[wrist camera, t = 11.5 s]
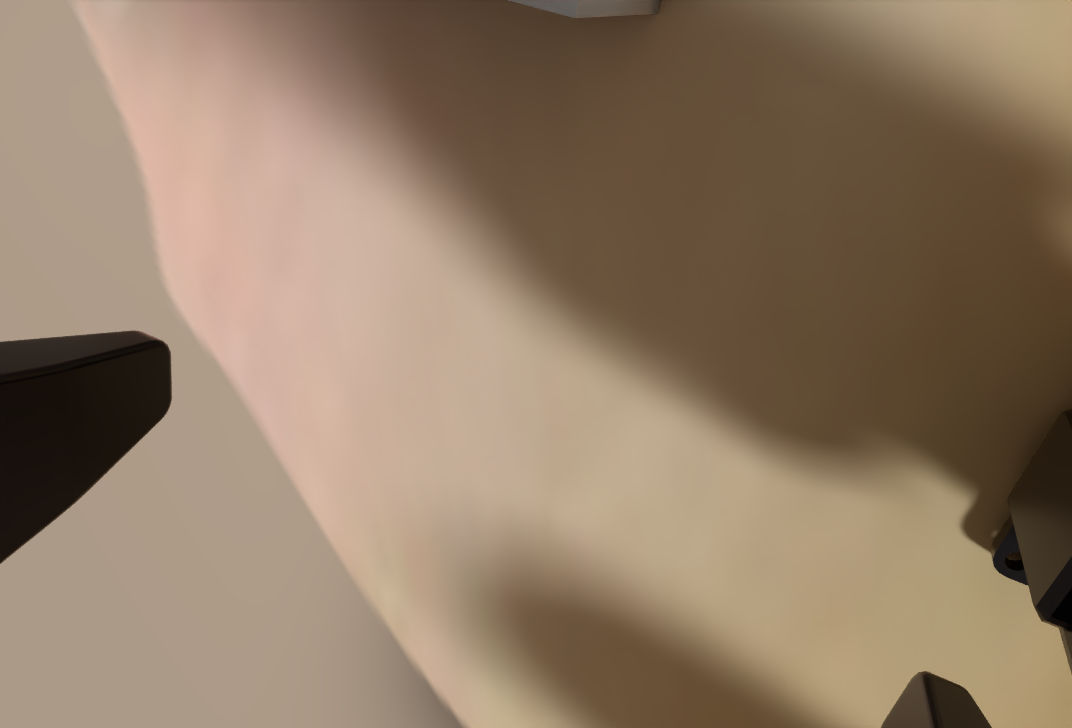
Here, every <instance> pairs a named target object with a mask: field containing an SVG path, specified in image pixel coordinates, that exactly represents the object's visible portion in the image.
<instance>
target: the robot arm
mask: <svg viewBox="0 0 1072 728" xmlns="http://www.w3.org/2000/svg"><path fill="white" fill-rule="evenodd" d="M171 385H172V381H171V352H170V350H169V347H168V345H167V344H166V343H165V342H163V341H162V340H160V339H157V338H155V337H153V336H150V335H148V334H146V333H143V332H140V331H123V332H112V333H111V332H110V333H99V334H87V335H75V336H64V337H52V338H40V339H29V340H17V341H5V342H0V564H1V563H2V562H3V561H4V560H6V559H7V558H8V557H9V556H11V555H12V554H13V553H14V552H15V551H17V550H18V549H19V548H21V546H23V545H24V544H25V543H27V542H28V541H29V540H30V539H32V538H33V537H34V536H35V535H36V534H38V533H39V532H40V531H42V530H43V529H44V528H45V527H47V526H48V525H49V524H50V523H51V522H52V521H54V520H55V519H56V518H58V517H59V516H60V515H61V514H62V513H64V512H65V511H66V510H67V509H68V508H70V507H71V506H72V505H73V504H74V503H75V502H77V501H78V500H79V499H80V498H81V497H82V496H83V495H84V494H85V493H86V492H87V491H88V490H89V489H90V488H91V487H93V485H95V484H96V483H97V482H98V481H99V480H100V479H101V478H102V477H103V476H104V475H105V474H106V473H107V472H108V471H109V470H110V469H111V468H112V467H113V466H114V465H115V464H116V463H117V462H118V461H119V460H120V459H121V458H122V457H123V456H124V455H125V454H126V453H127V452H129V451H130V450H131V449H132V447H134V446H135V445H136V444H137V443H138V442H139V441H140V440H141V439H142V438H143V437H144V436H145V435H146V434H147V433H148V432H149V431H150V430H151V429H152V428H153V427H154V426H155V425H156V424H157V423H158V422H159V421H160V420H161V419H162V418H163V417H164V416H165V414H166V413H167V411H168V409H169V407H170V404H171V400H172V386H171ZM1008 504H1009V508H1010V512H1011V516H1010V517H1009V519H1008V520H1007V522H1006V523H1005V525H1004V527H1003V528H1002V530H1001V531H1000V533H999V534H998V536H997V537H996V539H995V541H994V542H993V544H992V547H991V554H992V559H993V564H994V567H995V568H996V569H997V571H998V572H999V573H1000V574H1002V575H1004V576H1006V577H1007V578H1010V579H1013V580H1015V581H1018V582H1020V583H1023V584H1025V585H1028V586H1029V590H1030V594H1031V598H1032V602H1033V605H1034V607H1035V610H1036V612H1037V614H1038V616H1039V618H1040V619H1041V621H1043V622H1045V623H1048V624H1050V625H1053V626H1055V627H1058V628H1059V630H1060V634H1061V637H1062V641H1063V645H1064V648H1065V652H1066V655H1067V659H1068V663H1069V666H1070V670H1071V674H1072V408H1071V409H1069V410H1066V411H1064V412H1062V413H1061V414H1060V416H1059V418H1058V419H1057V421H1056V422H1055V424H1054V425H1053V427H1052V429H1051V430H1050V432H1049V433H1048V435H1047V436H1046V438H1045V440H1044V441H1043V443H1042V444H1041V446H1040V448H1039V449H1038V451H1037V452H1036V454H1035V455H1034V457H1033V459H1032V460H1031V462H1030V463H1029V465H1028V466H1027V468H1026V470H1025V471H1024V473H1023V474H1022V476H1021V477H1020V479H1019V481H1018V482H1017V484H1016V485H1015V487H1014V489H1013V490H1012V492H1011V493H1010V495H1009V497H1008ZM1015 552H1018V553H1021V557H1022V560H1017V561H1014V560H1009V559H1008V558H1006V556H1008V555H1009V554H1010V553H1015ZM881 728H992V727H991V726H990V724H989V723H988V721H987V720H986V718H985V717H984V715H983V713H982V712H981V710H980V709H979V707H978V706H977V704H976V703H975V701H974V699H973V698H972V696H971V695H970V694H969V692H968V691H967V690H966V689H965V688H963V687H962V686H960V685H958V684H955V683H953V682H951V681H948V680H946V679H944V678H941V677H939V676H937V675H934V674H932V673H930V672H927V671H924V672H919V673H917V674H916V675H915V676H914V677H913V678H912V679H911V681H910V682H909V684H908V685H907V687H906V688H905V690H904V691H903V693H902V694H901V696H900V697H899V699H898V701H897V702H896V704H895V705H894V707H893V708H892V710H891V711H890V713H889V714H888V716H887V717H886V719H885V721H884V722H883V724H882V726H881Z"/></svg>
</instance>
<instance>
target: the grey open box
mask: <svg viewBox="0 0 1072 728" xmlns="http://www.w3.org/2000/svg"><path fill="white" fill-rule="evenodd" d="M508 1H512V2H515V3H519V4H523V5H527V6H530V7H534V8H538V9H542V10H545V11H549V12H553V13H556V14H560V15H564V16H568V17H571V18H589V17H608V16H627V15H646V14H658V12H659V8H660V4H661V0H508Z"/></svg>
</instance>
